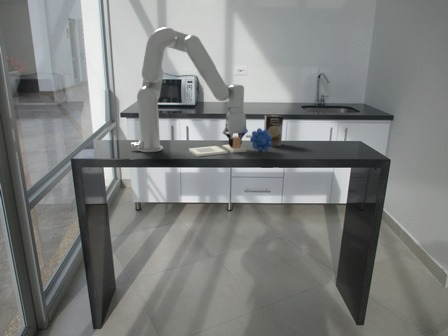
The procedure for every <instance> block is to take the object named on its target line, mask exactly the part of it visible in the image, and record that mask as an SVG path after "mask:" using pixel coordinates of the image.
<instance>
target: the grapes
mask: <svg viewBox="0 0 448 336" xmlns="http://www.w3.org/2000/svg"><path fill="white" fill-rule="evenodd" d="M249 140H250V142H251V143H252V147H253V149H256V150H257V151H258V152H260V153H261V152H263V151H265V152H267V151H269V150H270V149H269V148H270V147H273V146H272V142H271V141H270V140H272V136H271V135H268V131H267V130H264V129H262V128H261V127H260V128H257V130H253V131H252V132H251V137H250V138H249Z"/></svg>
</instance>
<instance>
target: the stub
mask: <svg viewBox="0 0 448 336" xmlns="http://www.w3.org/2000/svg"><path fill="white" fill-rule="evenodd" d="M232 139H233V147H231V146H229V144H222V145H221V148H223V149H225V150H226V151H228V152H230V153H242V152H243V153H244V152H247V148H245V147H243V146H242V144H241V138H240V137H238V135H235V136H234V135H233V136H232Z"/></svg>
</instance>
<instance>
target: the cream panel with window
mask: <svg viewBox="0 0 448 336" xmlns="http://www.w3.org/2000/svg"><path fill="white" fill-rule="evenodd" d="M188 152H189V153H192V154H193V155H194V156H196V157H207V156H217V155H225V154H226V155H227V154H228V152H229V151H228V150H226V149H224V148H222V146H219V145H212V146H204V147H203V146H201V147H192V148H191V147H190V148H188Z"/></svg>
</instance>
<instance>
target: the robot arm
mask: <svg viewBox="0 0 448 336" xmlns="http://www.w3.org/2000/svg"><path fill="white" fill-rule="evenodd" d="M166 48H168V49H173V50H176V51H179V52H183V53H186V54H187V56H188V57H189V59H190V60H191V62H192V65H194V67H195V69H196V70H197V72H198V74H199V75H200V76H201V77H202V79H203V80H204V82H205V84H206V85H207V86H208V89H209V90H210V92H211V93H212V95H213V97H214V98H215V100H217V101H219V102H224V101H226V100H227V99H228V106H227V107H226V109H225V111H226V112H227V113H226V118H225V124H224V125H225V127H224V129H223V131H222V134H223V135H224V136H226V137H227V138H228V145H229V146H231V147H233V139H232V137H233V136H234V134H237V137H240V138H241V145H242V143H243V141H242V140H243V138H244V137H245V135H246V134H248V132H249V131H248V129H247V117H246V113H245V112H244V106H245V102H244V101H245V87H244V85H242V84H226V83H225V81H224V80H223V78H222V76H221V75H220V72H219V71H218V69H217V67H216V65H215V63H214V61H213V59H212V58H211V56H210V54H209V53H208V51H207V50H206V48H205V45H204V44H203V43H202V41H201V39H200V38H199V37H198V36H197V35H194V34H187V33H184V32H180V31H178V30H175V29H173V28H172V27H169V26H167V27H165V26H164V27H160V28H158V29H156V30H155V31H153V32H152V33H150V35H149V37H148V39H147V42H146V45H145V51H144V57H143V63H142V69H141V77H142V85H141V88H140V89H139V90H138V91H137V95H136V101H137V108H138V120H139V121H138V122H139V140H138V141H137V142H130V147H132V148H133V147H134V148H137V151H138V152H142V153H154V152H155V153H156V152H160V151H163V150H164V146H163V145H161V144H160V142H161V141H160V139H161V138H160V118H159V102H158V100H159V99H160V97H161V89H162V83H163V78H164V77H163V76H164V70H163V66H162V64H163V59H164V53H165V50H166Z"/></svg>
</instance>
